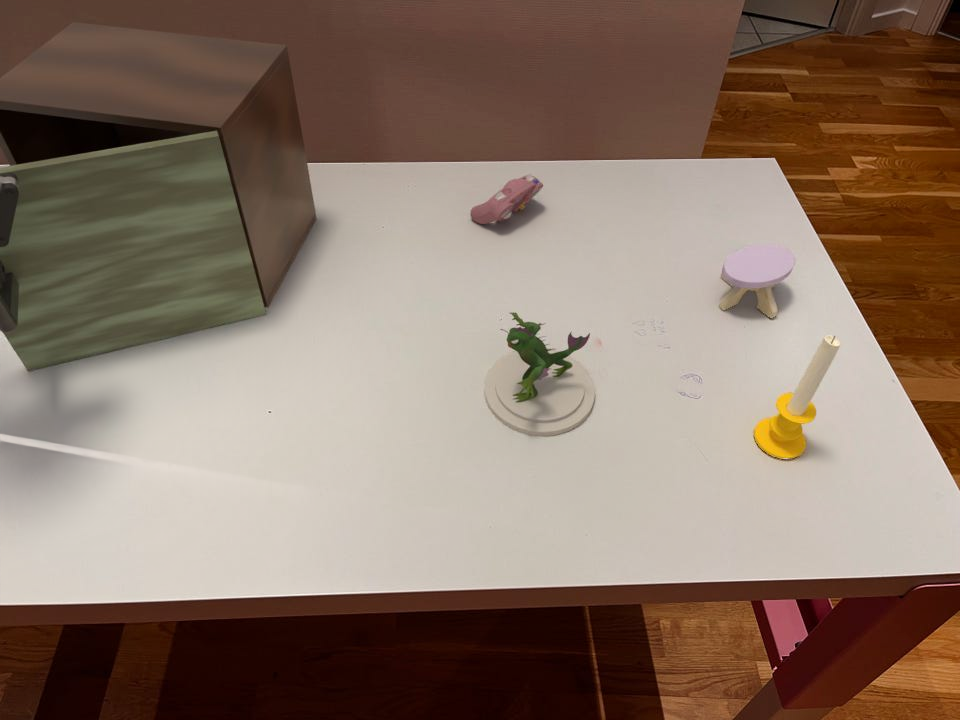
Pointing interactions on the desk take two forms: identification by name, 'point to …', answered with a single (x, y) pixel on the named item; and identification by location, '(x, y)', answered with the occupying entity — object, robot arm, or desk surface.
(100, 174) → the cupboard door
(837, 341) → the candle
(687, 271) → the desk surface
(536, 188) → the pink toy car
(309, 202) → the cupboard
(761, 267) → the toy table
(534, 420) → the monster figurine
